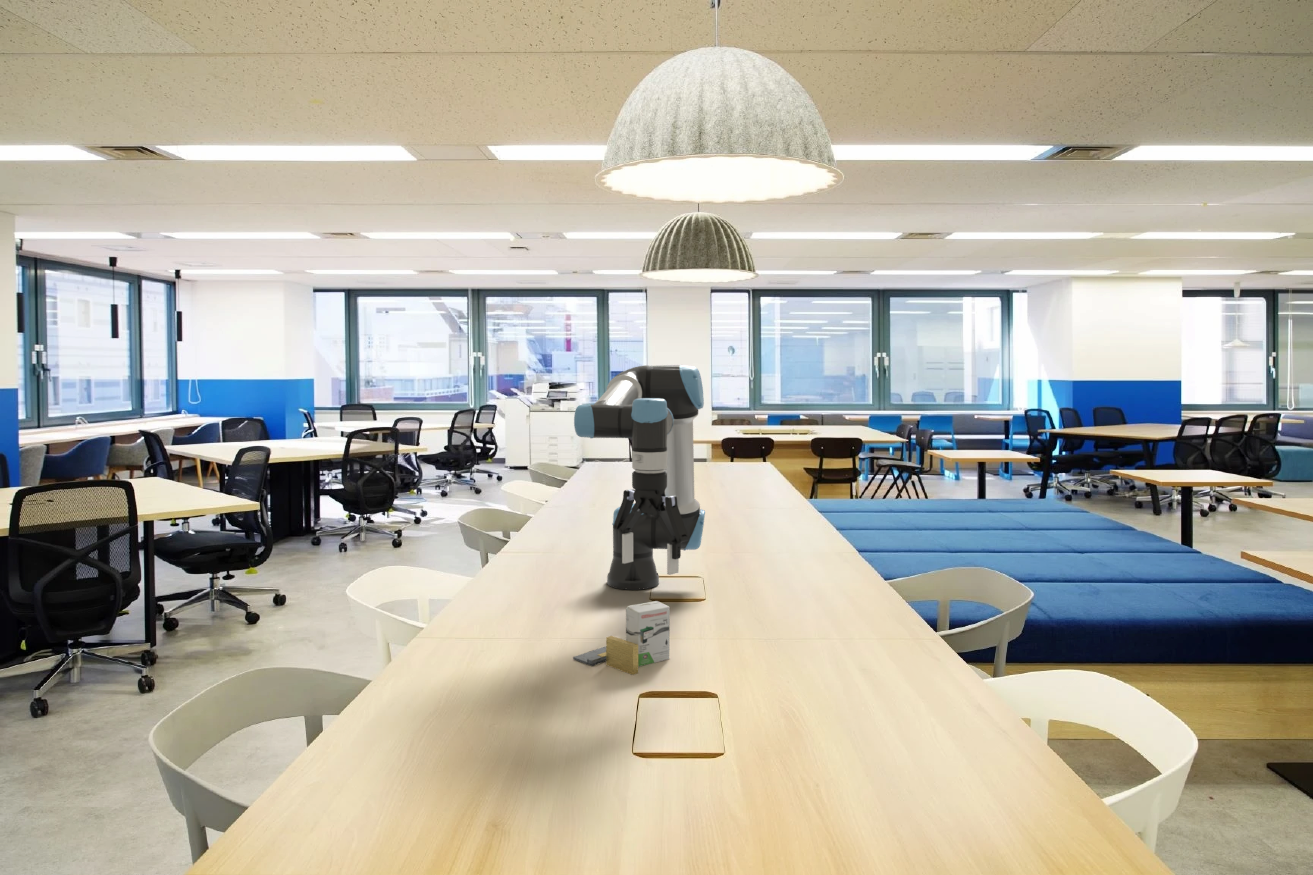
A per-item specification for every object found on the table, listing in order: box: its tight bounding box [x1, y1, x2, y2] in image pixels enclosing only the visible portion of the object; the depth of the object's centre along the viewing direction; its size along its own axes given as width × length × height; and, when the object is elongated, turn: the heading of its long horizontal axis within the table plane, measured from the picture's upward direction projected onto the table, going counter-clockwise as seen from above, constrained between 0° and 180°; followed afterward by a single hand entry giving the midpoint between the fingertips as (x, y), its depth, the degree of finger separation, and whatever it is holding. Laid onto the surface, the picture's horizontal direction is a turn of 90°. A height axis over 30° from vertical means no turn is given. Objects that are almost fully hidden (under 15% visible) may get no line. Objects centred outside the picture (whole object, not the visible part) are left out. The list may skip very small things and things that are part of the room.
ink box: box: [625, 600, 671, 667], centre depth 172 cm, size 9×5×12 cm, turn 126°
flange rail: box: [572, 635, 639, 676], centre depth 173 cm, size 16×16×6 cm
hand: (649, 567), depth 174 cm, fingers open, 13 cm apart
